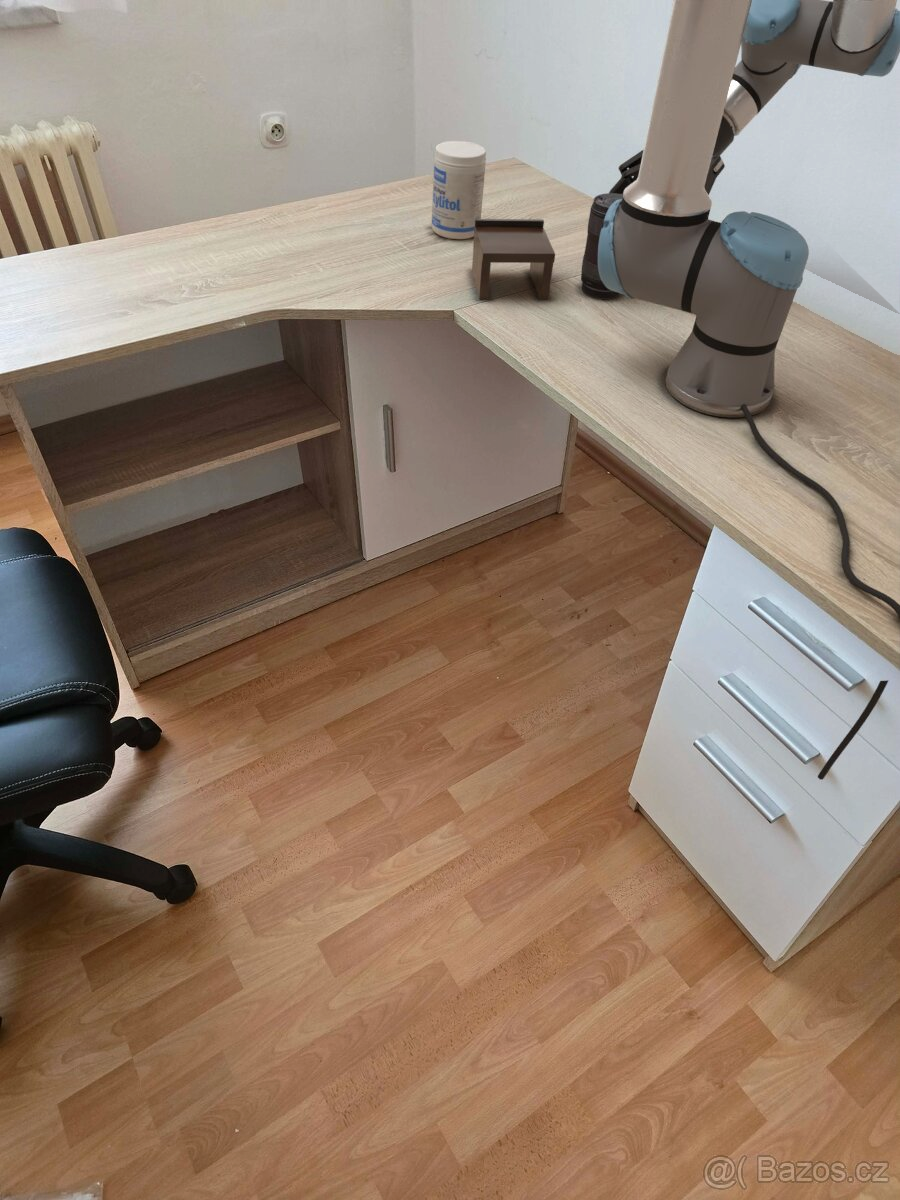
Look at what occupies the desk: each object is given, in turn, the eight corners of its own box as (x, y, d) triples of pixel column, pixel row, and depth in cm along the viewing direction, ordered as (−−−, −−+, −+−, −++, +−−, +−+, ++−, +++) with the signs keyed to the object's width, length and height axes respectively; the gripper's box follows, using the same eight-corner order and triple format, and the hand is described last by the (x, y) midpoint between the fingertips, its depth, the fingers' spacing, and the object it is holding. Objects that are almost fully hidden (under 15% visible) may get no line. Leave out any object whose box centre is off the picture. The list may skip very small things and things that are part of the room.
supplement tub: (424, 235, 151) (425, 151, 141) (441, 218, 158) (444, 137, 147) (471, 244, 149) (476, 160, 139) (487, 227, 156) (493, 145, 145)
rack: (548, 301, 134) (556, 247, 128) (479, 301, 133) (483, 247, 126) (536, 270, 142) (543, 219, 136) (471, 270, 141) (474, 218, 135)
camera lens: (622, 282, 140) (640, 193, 130) (624, 302, 135) (644, 211, 124) (577, 278, 141) (591, 189, 130) (577, 298, 135) (593, 207, 124)
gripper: (779, 162, 121) (676, 273, 126) (681, 116, 136) (593, 217, 142) (764, 126, 115) (656, 244, 121) (663, 82, 130) (572, 189, 136)
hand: (622, 230), depth 131 cm, fingers open, 13 cm apart
